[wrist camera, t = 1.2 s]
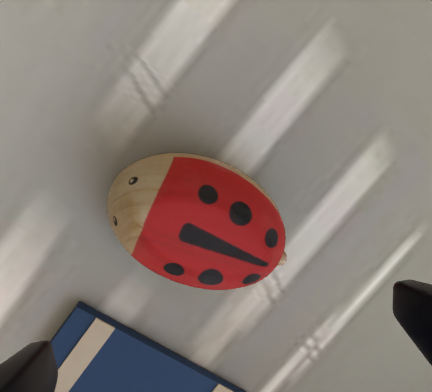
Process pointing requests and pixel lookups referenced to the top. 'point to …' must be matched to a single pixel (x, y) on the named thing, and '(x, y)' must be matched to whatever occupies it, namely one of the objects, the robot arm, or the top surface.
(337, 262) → the top surface
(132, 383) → the towel
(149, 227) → the ladybug figurine
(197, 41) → the top surface
